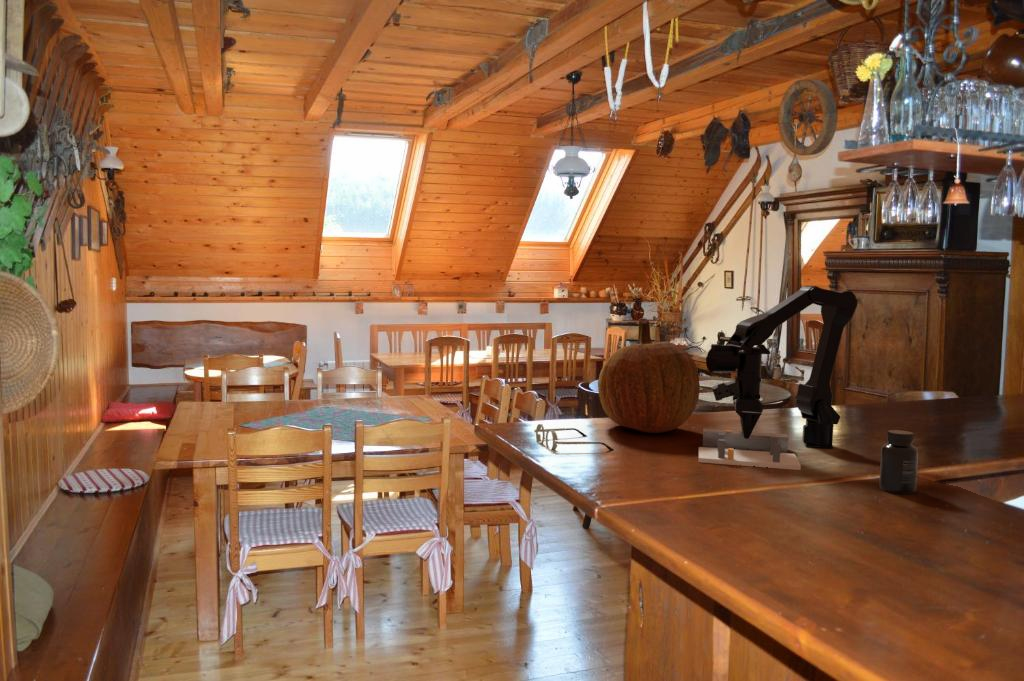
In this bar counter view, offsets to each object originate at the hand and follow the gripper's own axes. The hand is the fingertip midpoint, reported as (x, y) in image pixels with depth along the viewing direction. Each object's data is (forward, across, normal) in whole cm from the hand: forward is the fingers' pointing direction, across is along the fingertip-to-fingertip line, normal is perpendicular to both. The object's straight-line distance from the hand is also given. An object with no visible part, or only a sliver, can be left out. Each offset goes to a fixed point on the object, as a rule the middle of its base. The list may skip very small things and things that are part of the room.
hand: (745, 434), depth 205 cm
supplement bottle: (+3, +31, +28) cm, 42 cm away
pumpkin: (+3, -13, -26) cm, 29 cm away
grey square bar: (+4, 0, 0) cm, 4 cm away
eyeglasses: (+4, +11, -41) cm, 43 cm away
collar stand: (+3, +14, 0) cm, 14 cm away
